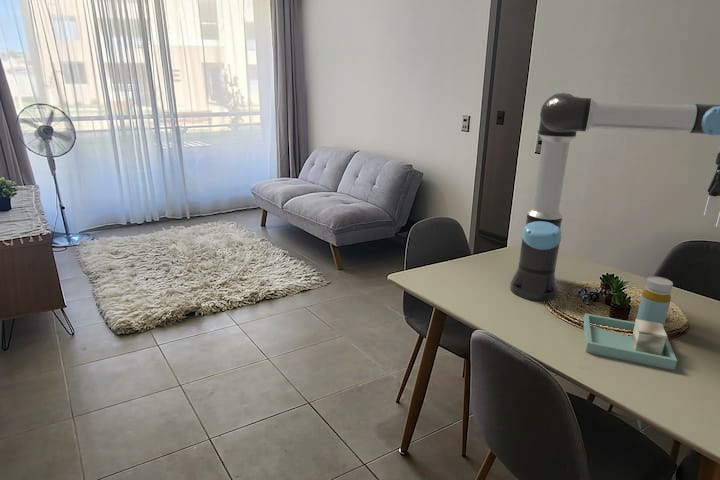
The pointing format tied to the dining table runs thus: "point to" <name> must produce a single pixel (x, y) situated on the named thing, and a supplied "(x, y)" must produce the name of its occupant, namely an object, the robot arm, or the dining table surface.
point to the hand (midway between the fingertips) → (714, 221)
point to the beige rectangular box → (648, 337)
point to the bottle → (655, 300)
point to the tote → (622, 343)
